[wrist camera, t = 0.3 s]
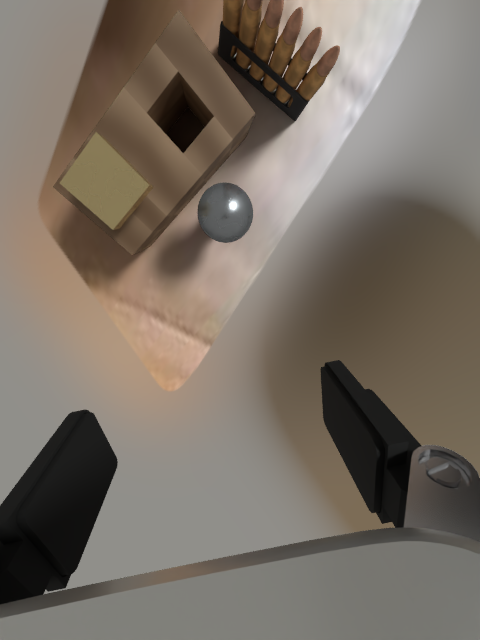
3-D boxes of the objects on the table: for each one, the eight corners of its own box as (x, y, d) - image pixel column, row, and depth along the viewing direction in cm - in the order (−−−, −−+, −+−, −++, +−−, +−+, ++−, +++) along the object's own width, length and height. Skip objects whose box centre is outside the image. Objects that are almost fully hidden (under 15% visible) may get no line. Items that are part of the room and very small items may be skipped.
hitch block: (189, 63, 27) (178, 9, 20) (246, 136, 30) (255, 113, 23) (91, 192, 31) (52, 186, 24) (150, 246, 34) (132, 255, 27)
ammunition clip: (217, 54, 27) (217, -51, 16) (226, 35, 27) (232, -88, 16) (295, 121, 30) (339, 70, 19) (304, 105, 30) (356, 43, 19)
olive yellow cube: (117, 146, 24) (96, 131, 19) (160, 189, 25) (149, 185, 21) (86, 188, 25) (59, 183, 20) (129, 227, 26) (112, 229, 22)
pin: (223, 180, 32) (225, 168, 23) (251, 213, 34) (264, 214, 25) (194, 212, 33) (185, 213, 24) (223, 243, 35) (225, 253, 26)
